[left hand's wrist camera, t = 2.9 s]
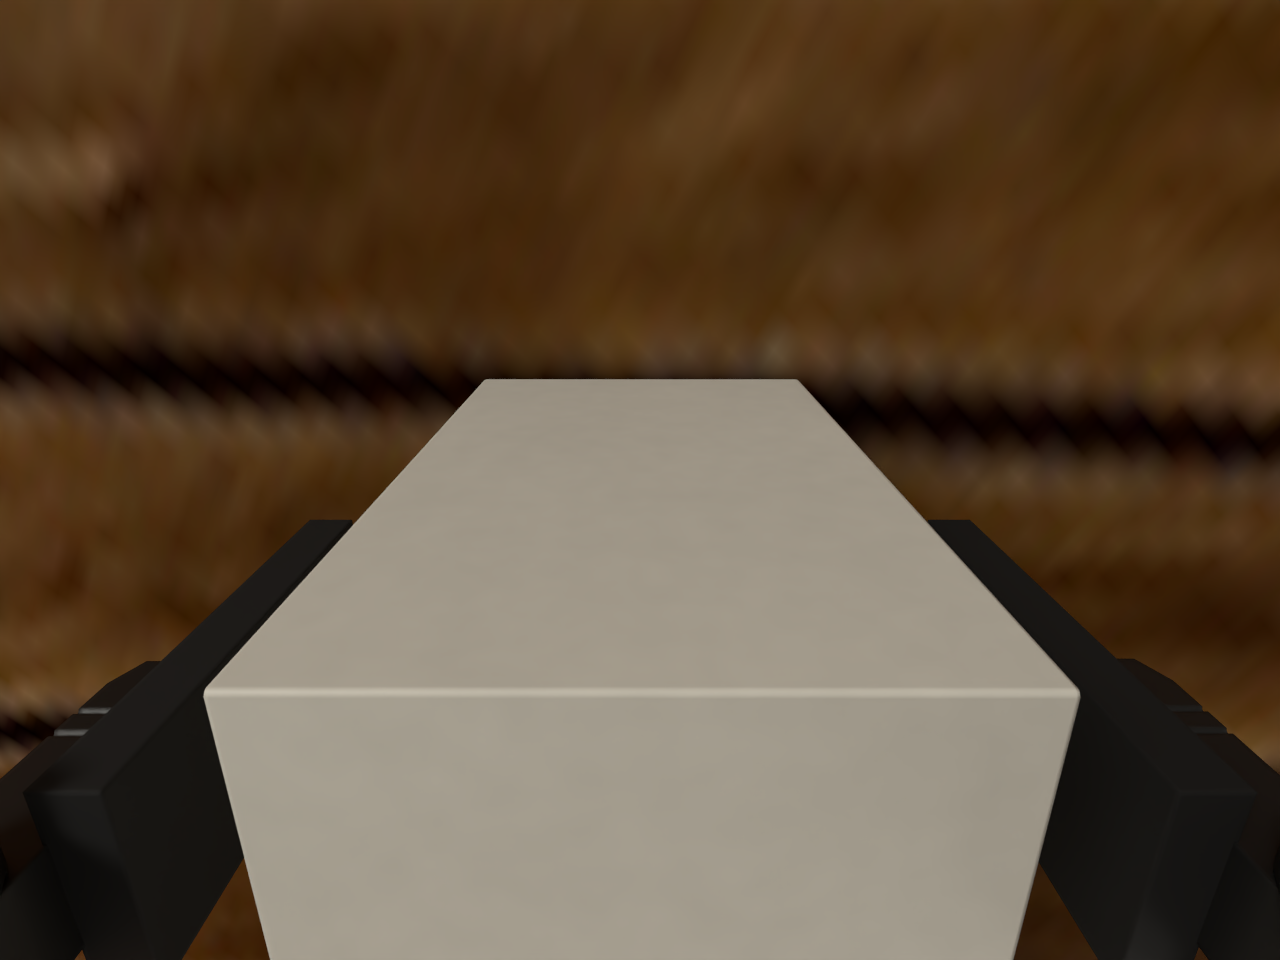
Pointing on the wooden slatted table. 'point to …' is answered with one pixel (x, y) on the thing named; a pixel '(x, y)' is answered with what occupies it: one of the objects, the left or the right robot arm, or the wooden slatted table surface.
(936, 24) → the wooden slatted table surface
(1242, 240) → the wooden slatted table surface
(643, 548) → the bar
